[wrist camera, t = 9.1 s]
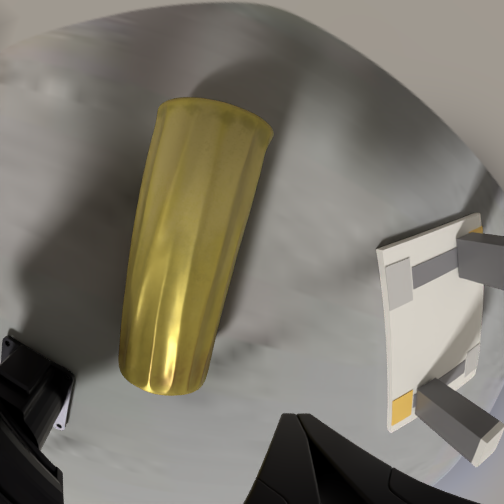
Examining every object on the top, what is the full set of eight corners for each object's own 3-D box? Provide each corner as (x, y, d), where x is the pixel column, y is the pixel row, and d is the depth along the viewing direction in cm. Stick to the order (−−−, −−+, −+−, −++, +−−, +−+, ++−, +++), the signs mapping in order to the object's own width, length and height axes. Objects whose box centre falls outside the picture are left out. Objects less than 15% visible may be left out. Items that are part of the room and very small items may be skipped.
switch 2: (414, 414, 23) (476, 467, 13) (416, 389, 22) (487, 443, 13) (432, 402, 23) (494, 450, 14) (435, 377, 23) (505, 424, 13)
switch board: (387, 428, 24) (391, 433, 23) (376, 248, 21) (383, 250, 20) (470, 372, 26) (475, 375, 25) (474, 212, 23) (481, 213, 22)
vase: (159, 84, 10) (104, 392, 12) (294, 123, 12) (222, 406, 14) (160, 118, 16) (117, 338, 18) (254, 143, 18) (205, 351, 20)
